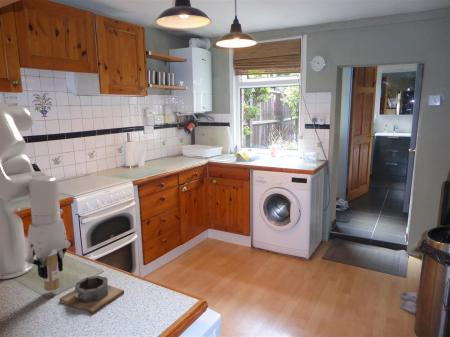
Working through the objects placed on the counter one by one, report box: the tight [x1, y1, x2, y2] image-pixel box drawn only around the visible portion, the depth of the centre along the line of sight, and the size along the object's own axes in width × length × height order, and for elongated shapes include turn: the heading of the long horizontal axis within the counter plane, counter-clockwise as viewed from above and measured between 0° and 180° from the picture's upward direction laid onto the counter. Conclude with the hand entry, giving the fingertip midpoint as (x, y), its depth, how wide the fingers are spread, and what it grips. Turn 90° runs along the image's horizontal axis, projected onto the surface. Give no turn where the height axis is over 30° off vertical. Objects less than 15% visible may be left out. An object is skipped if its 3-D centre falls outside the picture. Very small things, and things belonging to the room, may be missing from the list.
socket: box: [74, 275, 109, 303], centre depth 100 cm, size 9×11×4 cm
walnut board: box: [59, 284, 125, 315], centre depth 101 cm, size 14×12×1 cm
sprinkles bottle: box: [43, 249, 61, 292], centre depth 102 cm, size 5×5×13 cm
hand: (51, 273), depth 102 cm, fingers closed on sprinkles bottle, 4 cm apart
